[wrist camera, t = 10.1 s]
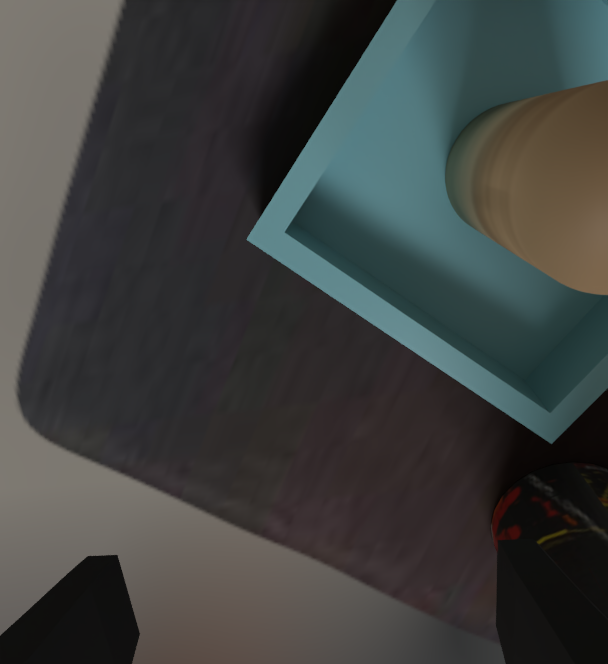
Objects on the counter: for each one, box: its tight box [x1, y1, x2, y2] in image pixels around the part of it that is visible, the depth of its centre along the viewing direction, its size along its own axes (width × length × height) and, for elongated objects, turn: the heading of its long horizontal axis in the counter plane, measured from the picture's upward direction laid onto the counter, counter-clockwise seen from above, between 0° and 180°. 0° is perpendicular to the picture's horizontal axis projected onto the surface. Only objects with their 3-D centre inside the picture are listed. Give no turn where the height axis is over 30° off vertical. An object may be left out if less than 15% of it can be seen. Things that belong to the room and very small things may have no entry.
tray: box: [246, 0, 608, 444], centre depth 16 cm, size 12×12×3 cm
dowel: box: [445, 80, 608, 295], centre depth 13 cm, size 4×4×7 cm
